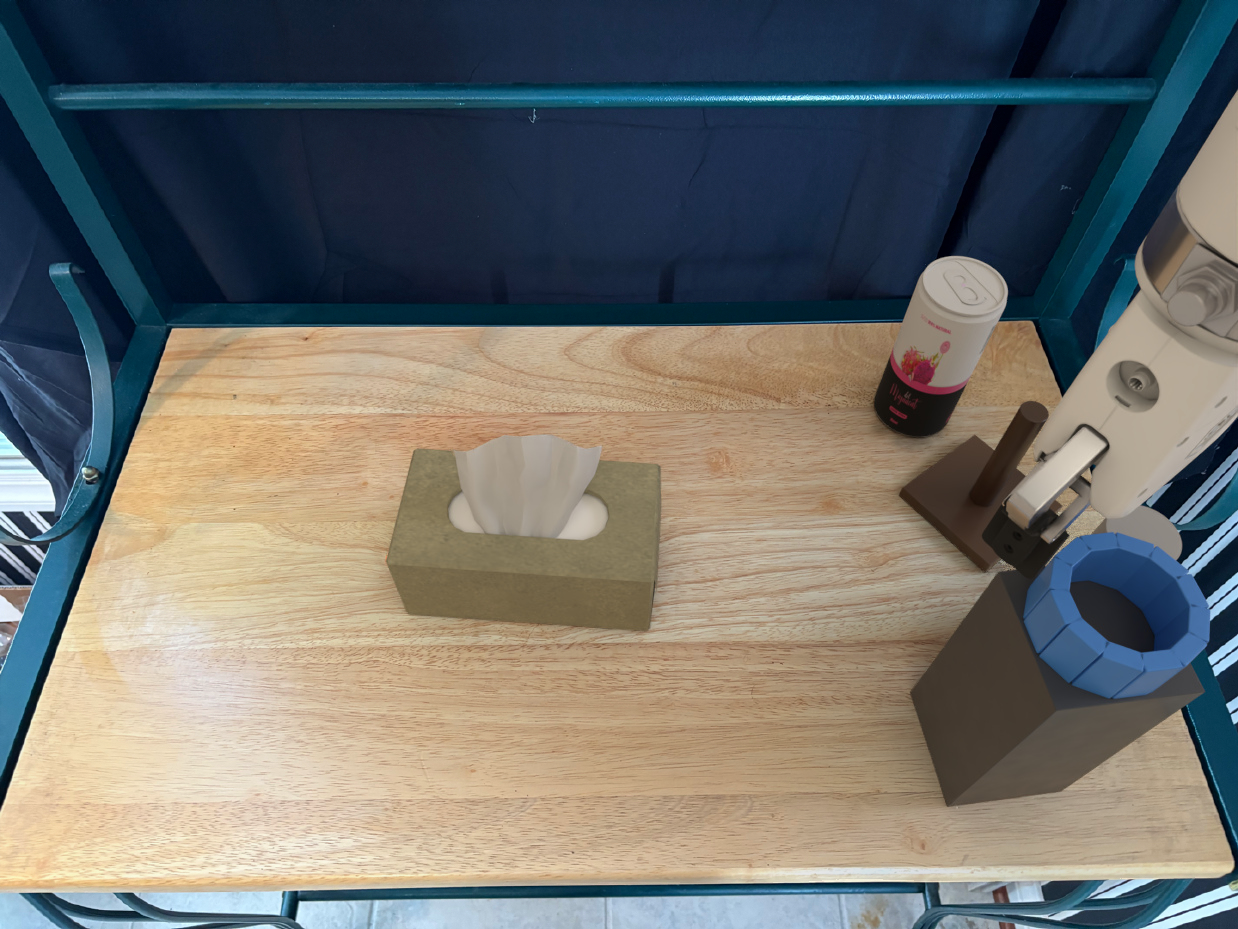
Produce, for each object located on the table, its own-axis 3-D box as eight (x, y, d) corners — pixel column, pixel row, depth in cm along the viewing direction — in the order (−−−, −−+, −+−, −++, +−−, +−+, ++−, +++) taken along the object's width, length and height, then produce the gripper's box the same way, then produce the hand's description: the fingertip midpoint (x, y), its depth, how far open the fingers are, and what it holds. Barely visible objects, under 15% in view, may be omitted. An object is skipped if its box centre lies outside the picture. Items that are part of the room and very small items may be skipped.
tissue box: (659, 520, 73) (670, 394, 60) (653, 632, 67) (664, 520, 54) (427, 505, 74) (389, 377, 61) (402, 615, 68) (354, 499, 55)
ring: (1202, 642, 48) (1241, 611, 45) (1116, 727, 45) (1151, 701, 42) (1081, 542, 51) (1110, 508, 48) (994, 616, 49) (1019, 584, 46)
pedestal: (1061, 791, 61) (1205, 692, 46) (947, 807, 60) (1056, 711, 46) (1016, 679, 66) (1134, 555, 51) (909, 692, 65) (998, 571, 50)
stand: (1057, 513, 74) (1127, 421, 64) (985, 572, 71) (1047, 485, 61) (970, 442, 78) (1023, 345, 68) (898, 495, 75) (943, 401, 65)
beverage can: (892, 447, 77) (946, 323, 65) (860, 390, 81) (905, 263, 69) (961, 431, 79) (1027, 306, 66) (926, 375, 82) (982, 247, 70)
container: (1004, 613, 69) (1091, 505, 56) (1064, 607, 69) (1163, 499, 57) (1027, 671, 66) (1123, 572, 54) (1089, 665, 66) (1198, 565, 54)
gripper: (1220, 435, 29) (1020, 654, 43) (1470, 220, 35) (1224, 472, 49) (1028, 300, 32) (901, 544, 46) (1287, 126, 38) (1106, 387, 52)
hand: (1067, 507), depth 48 cm, fingers open, 9 cm apart
